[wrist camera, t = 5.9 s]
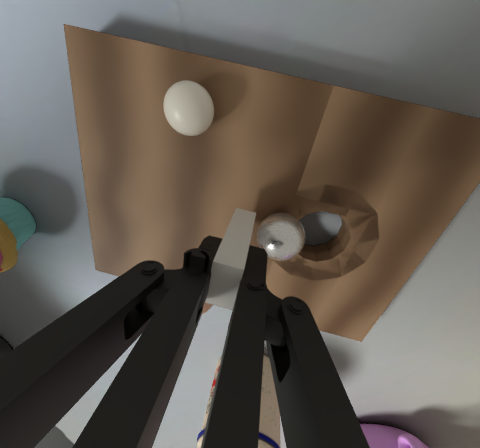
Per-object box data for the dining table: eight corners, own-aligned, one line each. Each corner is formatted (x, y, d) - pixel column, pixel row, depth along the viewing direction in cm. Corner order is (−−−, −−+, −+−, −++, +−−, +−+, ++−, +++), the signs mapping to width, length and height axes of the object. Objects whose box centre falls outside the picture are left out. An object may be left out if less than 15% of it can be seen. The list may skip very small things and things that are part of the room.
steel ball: (258, 237, 19) (245, 259, 16) (269, 200, 17) (257, 216, 14) (298, 252, 18) (293, 277, 15) (314, 215, 17) (311, 234, 14)
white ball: (174, 128, 16) (153, 131, 13) (177, 78, 14) (154, 71, 12) (215, 138, 16) (202, 143, 13) (222, 89, 14) (209, 83, 11)
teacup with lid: (225, 338, 29) (197, 463, 18) (292, 360, 29) (300, 498, 19) (205, 384, 34) (174, 500, 24) (260, 403, 34) (254, 527, 24)
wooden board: (111, 256, 25) (95, 269, 23) (93, 36, 16) (63, 23, 14) (353, 320, 24) (361, 341, 22) (483, 125, 15) (519, 127, 13)
